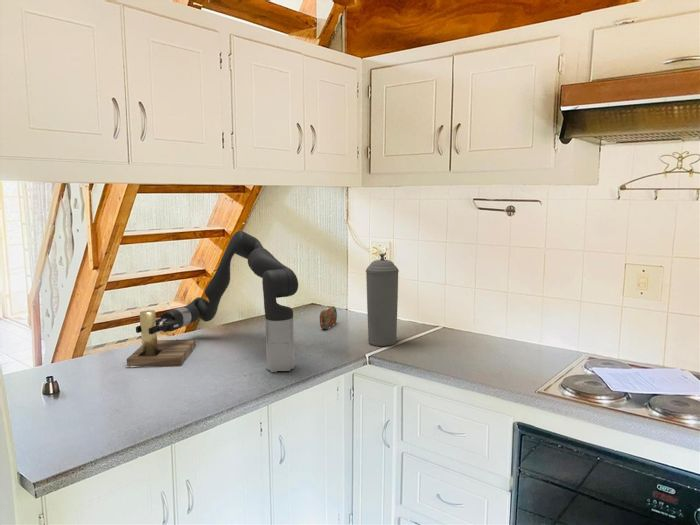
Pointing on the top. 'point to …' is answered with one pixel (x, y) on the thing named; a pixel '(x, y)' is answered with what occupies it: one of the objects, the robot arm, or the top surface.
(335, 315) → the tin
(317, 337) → the top surface
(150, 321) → the brass cylinder
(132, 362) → the jig
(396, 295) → the canister
